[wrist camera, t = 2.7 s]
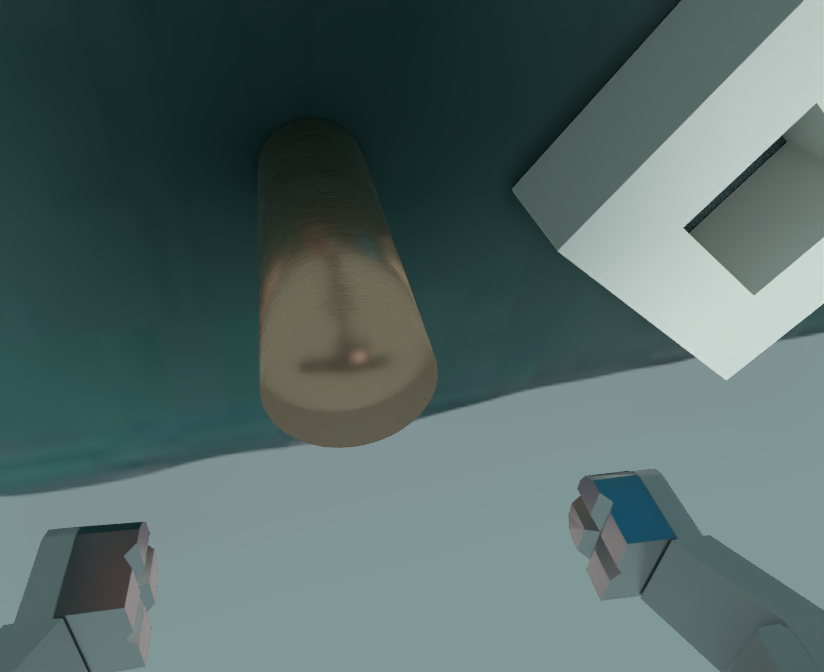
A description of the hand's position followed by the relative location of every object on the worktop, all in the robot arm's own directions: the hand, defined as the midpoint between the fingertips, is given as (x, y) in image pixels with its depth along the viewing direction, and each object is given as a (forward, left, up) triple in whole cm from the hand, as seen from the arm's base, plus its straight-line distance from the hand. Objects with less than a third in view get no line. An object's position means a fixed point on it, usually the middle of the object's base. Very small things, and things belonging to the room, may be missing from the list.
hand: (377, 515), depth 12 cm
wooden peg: (0, 0, -15) cm, 15 cm away
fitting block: (+13, +10, -15) cm, 22 cm away
